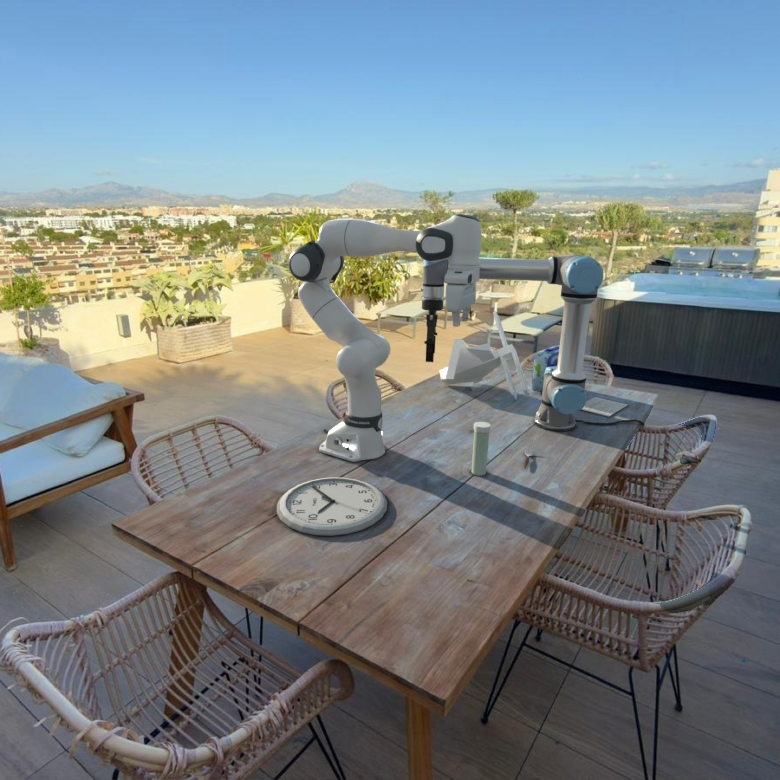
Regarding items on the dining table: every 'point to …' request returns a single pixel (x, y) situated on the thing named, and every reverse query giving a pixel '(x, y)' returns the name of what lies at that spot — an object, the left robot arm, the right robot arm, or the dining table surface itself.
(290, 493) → the wall clock
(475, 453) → the light green cylinder
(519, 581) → the dining table surface
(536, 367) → the lunch box
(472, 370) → the white plastic object
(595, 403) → the invitation card
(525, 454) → the fork
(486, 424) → the lid
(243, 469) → the dining table surface
